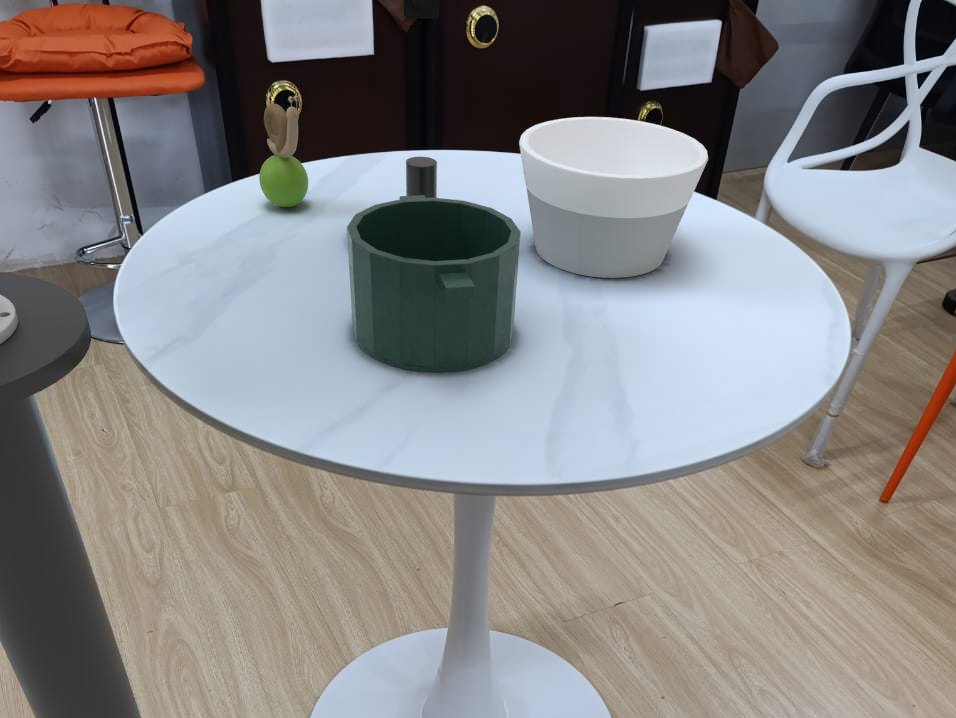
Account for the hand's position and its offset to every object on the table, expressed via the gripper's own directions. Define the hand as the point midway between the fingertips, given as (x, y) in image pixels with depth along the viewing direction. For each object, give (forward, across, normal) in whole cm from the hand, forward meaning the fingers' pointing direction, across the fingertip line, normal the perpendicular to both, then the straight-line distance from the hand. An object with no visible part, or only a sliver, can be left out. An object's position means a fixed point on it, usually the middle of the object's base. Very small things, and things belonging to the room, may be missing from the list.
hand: (410, 5), depth 85 cm
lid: (+21, 0, +1) cm, 21 cm away
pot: (+22, +21, -2) cm, 30 cm away
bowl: (+21, +5, +20) cm, 30 cm away
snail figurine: (+22, -12, -12) cm, 28 cm away
